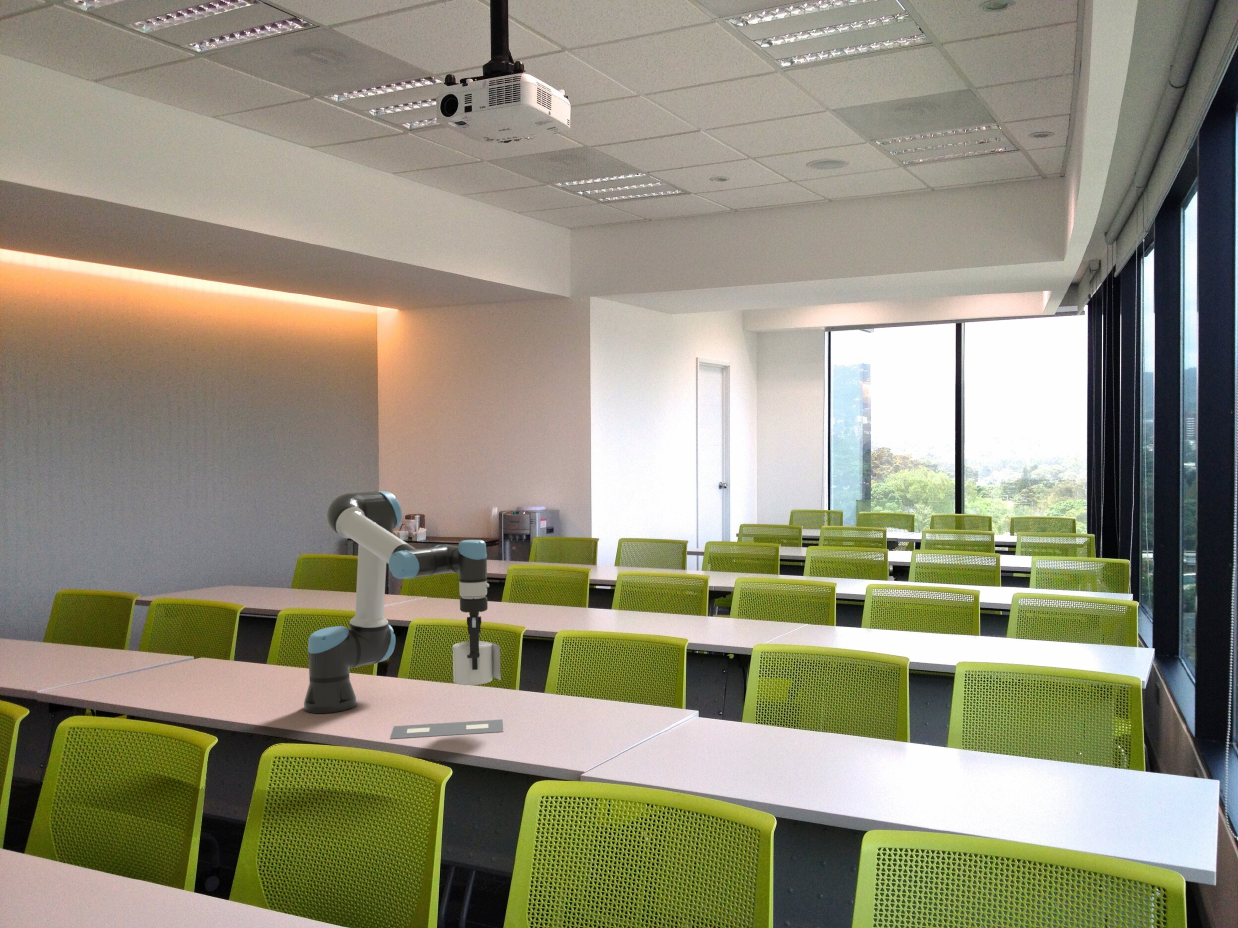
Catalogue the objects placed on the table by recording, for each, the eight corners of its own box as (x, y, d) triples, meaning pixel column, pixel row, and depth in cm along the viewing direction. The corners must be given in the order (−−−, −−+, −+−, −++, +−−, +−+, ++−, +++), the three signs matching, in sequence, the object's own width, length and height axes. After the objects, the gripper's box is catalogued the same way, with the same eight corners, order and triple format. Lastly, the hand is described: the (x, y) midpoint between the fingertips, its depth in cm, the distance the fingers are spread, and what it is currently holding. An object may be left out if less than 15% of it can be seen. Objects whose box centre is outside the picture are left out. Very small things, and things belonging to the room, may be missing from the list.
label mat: (390, 738, 267) (390, 738, 267) (394, 726, 279) (394, 725, 279) (503, 731, 271) (503, 730, 271) (502, 719, 283) (502, 718, 283)
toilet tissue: (449, 678, 279) (449, 642, 279) (492, 674, 283) (491, 638, 283) (457, 687, 269) (456, 650, 269) (501, 682, 273) (500, 646, 273)
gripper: (487, 602, 264) (489, 685, 265) (487, 589, 287) (488, 665, 288) (458, 603, 263) (460, 687, 264) (460, 590, 286) (462, 667, 287)
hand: (475, 676), depth 276 cm, fingers closed on toilet tissue, 11 cm apart
